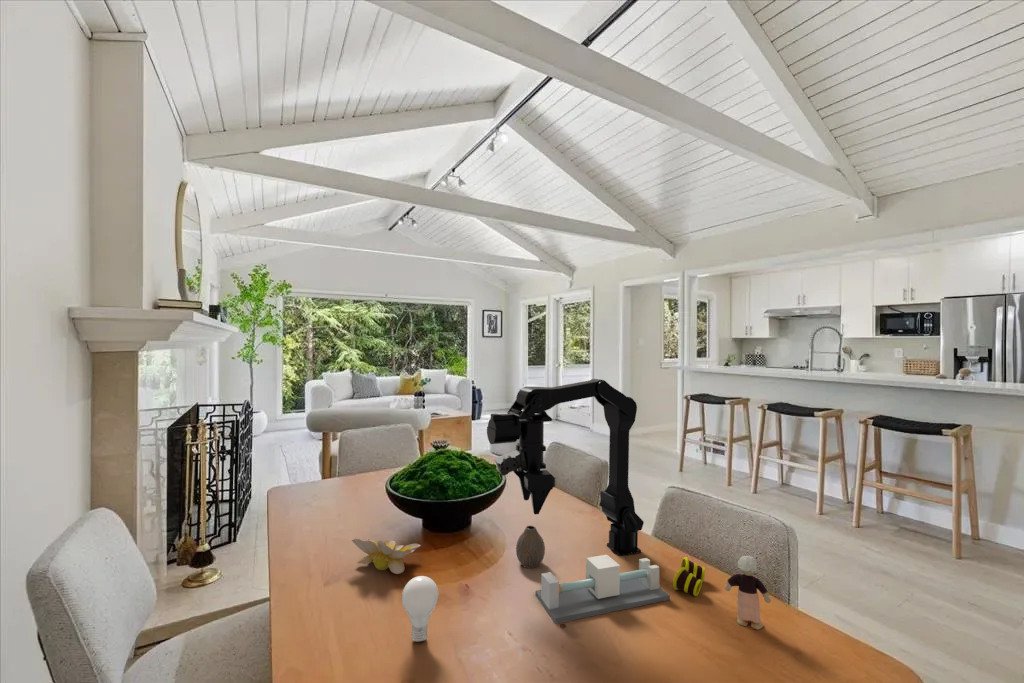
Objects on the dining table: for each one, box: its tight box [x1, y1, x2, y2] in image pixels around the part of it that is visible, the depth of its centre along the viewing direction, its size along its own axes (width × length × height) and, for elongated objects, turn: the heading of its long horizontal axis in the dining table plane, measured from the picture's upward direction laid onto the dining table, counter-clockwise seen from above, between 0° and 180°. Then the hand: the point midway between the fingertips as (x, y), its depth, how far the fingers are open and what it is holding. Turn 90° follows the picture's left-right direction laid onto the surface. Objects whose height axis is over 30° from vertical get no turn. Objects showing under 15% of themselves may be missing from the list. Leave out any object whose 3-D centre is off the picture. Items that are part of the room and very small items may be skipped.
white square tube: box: [585, 554, 621, 599], centre depth 95 cm, size 5×5×6 cm
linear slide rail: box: [535, 557, 671, 624], centre depth 95 cm, size 26×10×6 cm, turn 109°
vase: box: [515, 525, 546, 569], centre depth 109 cm, size 7×7×9 cm
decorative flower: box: [351, 538, 421, 575], centre depth 107 cm, size 15×11×10 cm
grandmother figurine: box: [724, 555, 772, 630], centre depth 87 cm, size 8×4×13 cm, turn 71°
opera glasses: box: [672, 556, 706, 597], centre depth 100 cm, size 10×5×5 cm, turn 149°
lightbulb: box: [401, 575, 439, 643], centre depth 80 cm, size 6×6×11 cm
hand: (531, 506), depth 107 cm, fingers open, 9 cm apart
